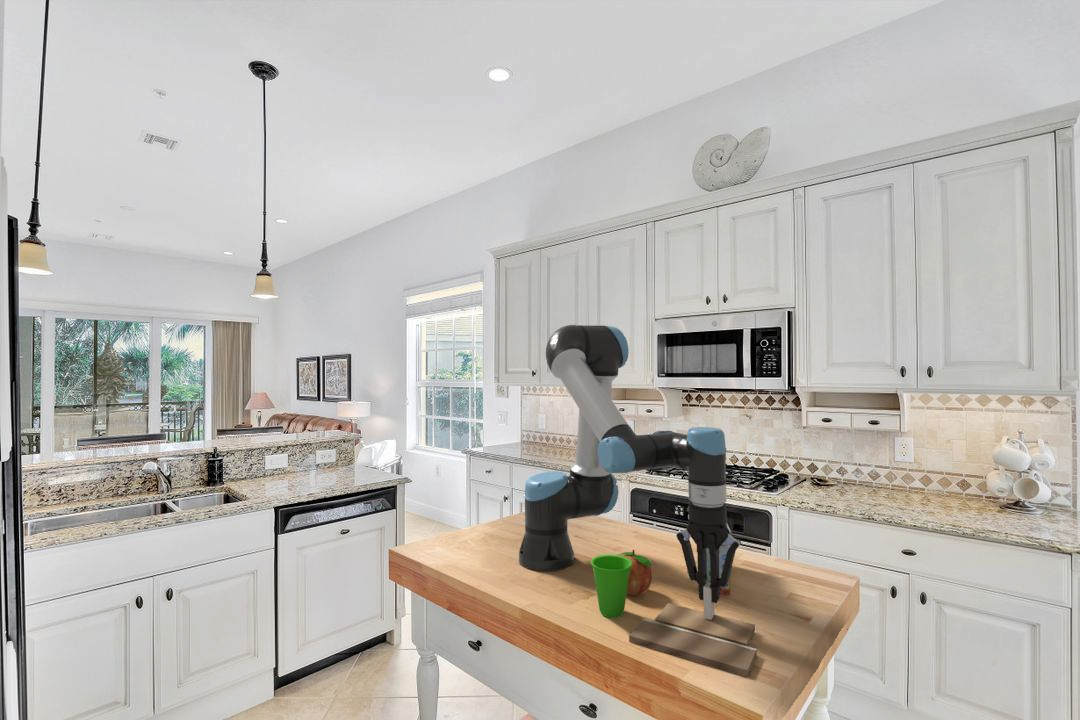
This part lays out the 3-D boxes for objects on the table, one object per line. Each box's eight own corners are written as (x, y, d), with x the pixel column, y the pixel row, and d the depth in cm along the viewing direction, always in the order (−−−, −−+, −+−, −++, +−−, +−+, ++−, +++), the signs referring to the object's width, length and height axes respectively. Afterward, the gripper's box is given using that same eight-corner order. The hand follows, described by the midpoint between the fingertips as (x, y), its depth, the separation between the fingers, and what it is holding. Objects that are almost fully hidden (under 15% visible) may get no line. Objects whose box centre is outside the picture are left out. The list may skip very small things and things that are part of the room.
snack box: (733, 596, 124) (732, 531, 124) (707, 594, 125) (707, 530, 125) (721, 562, 145) (720, 506, 145) (699, 561, 146) (699, 505, 146)
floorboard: (629, 641, 104) (629, 634, 104) (644, 624, 111) (644, 618, 111) (747, 677, 92) (747, 669, 92) (756, 655, 99) (756, 648, 99)
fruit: (631, 604, 120) (630, 559, 120) (606, 588, 129) (606, 546, 129) (661, 596, 124) (660, 553, 124) (635, 581, 133) (635, 541, 133)
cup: (587, 603, 120) (587, 555, 120) (627, 602, 121) (626, 553, 121) (595, 623, 111) (594, 570, 111) (637, 621, 112) (637, 569, 112)
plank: (654, 625, 110) (654, 619, 110) (668, 608, 117) (668, 603, 117) (746, 650, 101) (746, 644, 101) (755, 630, 108) (754, 624, 108)
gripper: (670, 503, 111) (672, 616, 111) (735, 511, 104) (738, 632, 104) (681, 494, 118) (683, 602, 118) (744, 502, 111) (746, 616, 111)
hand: (709, 616), depth 111 cm, fingers closed
